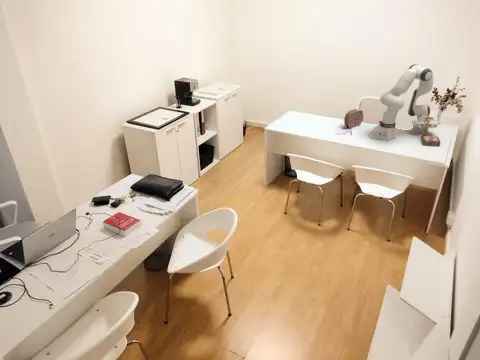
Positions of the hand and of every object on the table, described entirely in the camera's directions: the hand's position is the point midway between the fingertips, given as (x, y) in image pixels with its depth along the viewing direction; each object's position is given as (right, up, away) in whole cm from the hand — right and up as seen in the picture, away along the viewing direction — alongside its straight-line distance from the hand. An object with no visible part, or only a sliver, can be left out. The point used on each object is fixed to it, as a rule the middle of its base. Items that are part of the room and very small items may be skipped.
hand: (426, 127), depth 317 cm
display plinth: (+1, -15, -5) cm, 16 cm away
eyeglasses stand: (+1, -8, +5) cm, 10 cm away
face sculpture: (-53, +7, +39) cm, 66 cm away
